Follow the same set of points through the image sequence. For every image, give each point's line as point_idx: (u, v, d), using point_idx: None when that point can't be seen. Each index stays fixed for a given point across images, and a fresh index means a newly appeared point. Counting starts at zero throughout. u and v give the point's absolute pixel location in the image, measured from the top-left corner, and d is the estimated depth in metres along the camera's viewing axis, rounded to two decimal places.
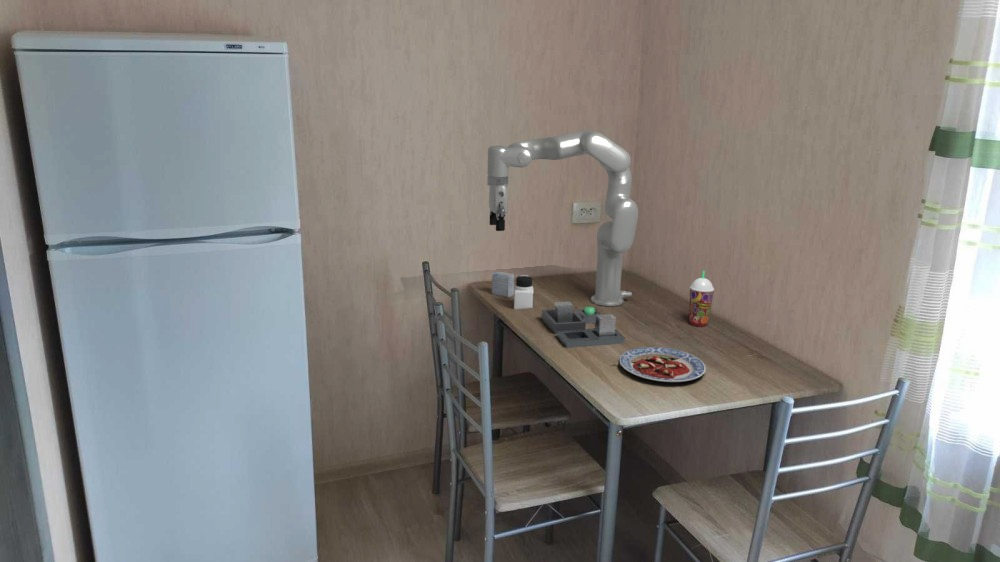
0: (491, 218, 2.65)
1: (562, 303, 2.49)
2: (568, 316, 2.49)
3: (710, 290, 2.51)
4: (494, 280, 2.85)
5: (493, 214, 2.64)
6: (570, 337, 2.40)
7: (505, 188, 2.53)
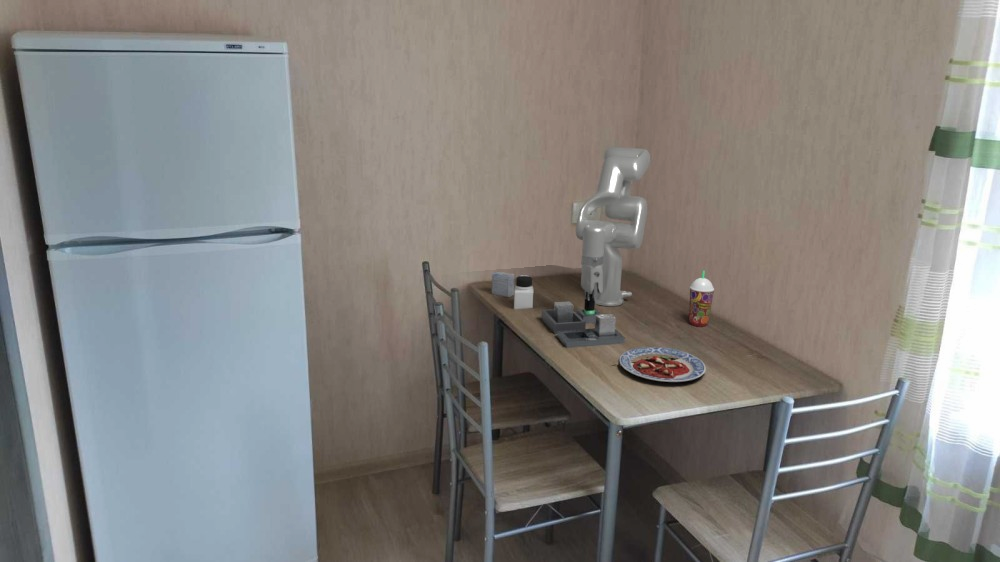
0: None
1: (562, 303, 2.49)
2: (568, 316, 2.49)
3: (710, 290, 2.51)
4: (494, 280, 2.85)
5: None
6: (570, 337, 2.40)
7: (601, 268, 2.48)
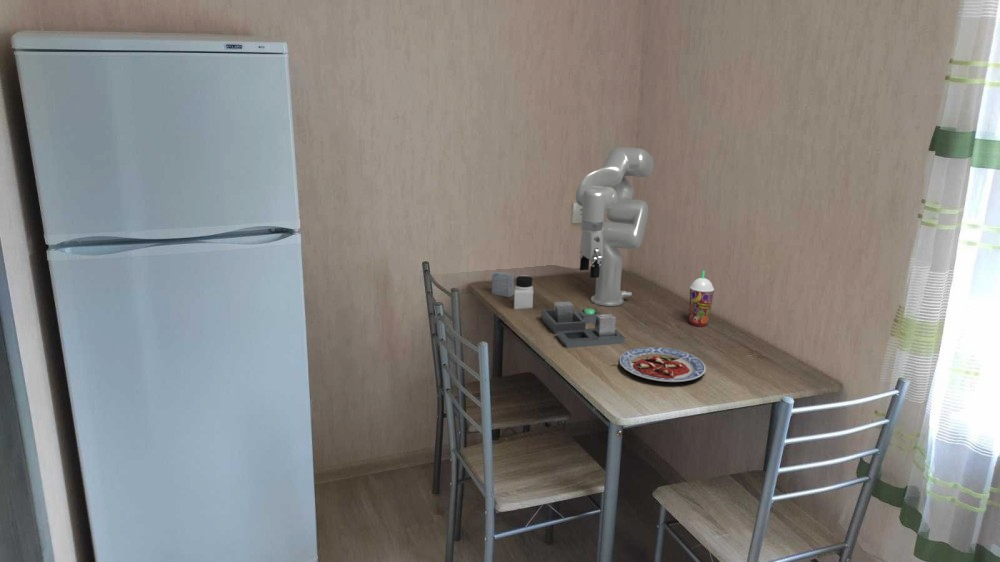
0: (582, 263, 2.55)
1: (562, 303, 2.49)
2: (568, 316, 2.49)
3: (710, 290, 2.51)
4: (494, 280, 2.85)
5: (584, 259, 2.55)
6: (570, 337, 2.40)
7: (601, 234, 2.44)
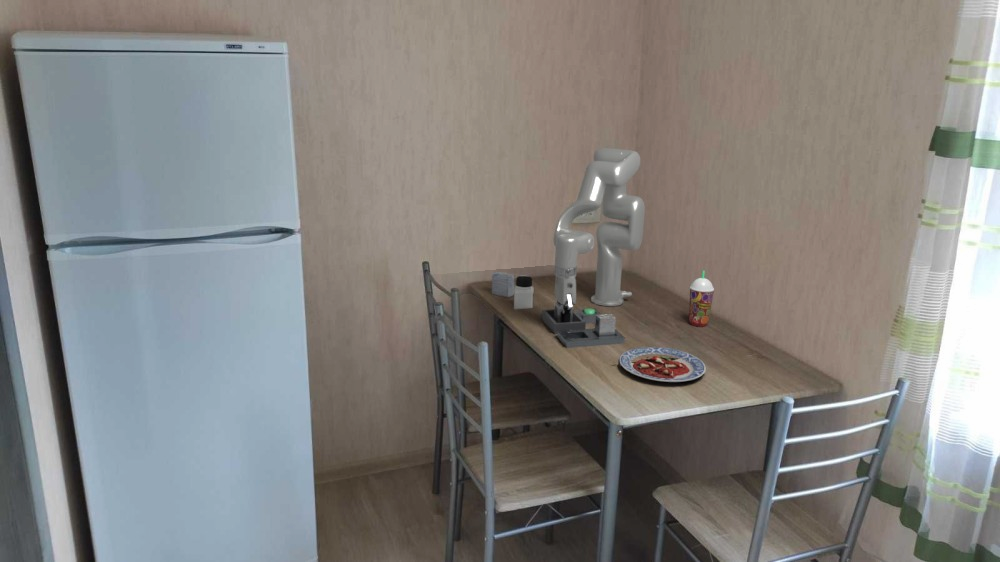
0: None
1: None
2: None
3: (710, 290, 2.51)
4: (494, 280, 2.85)
5: None
6: (570, 337, 2.40)
7: (574, 279, 2.43)
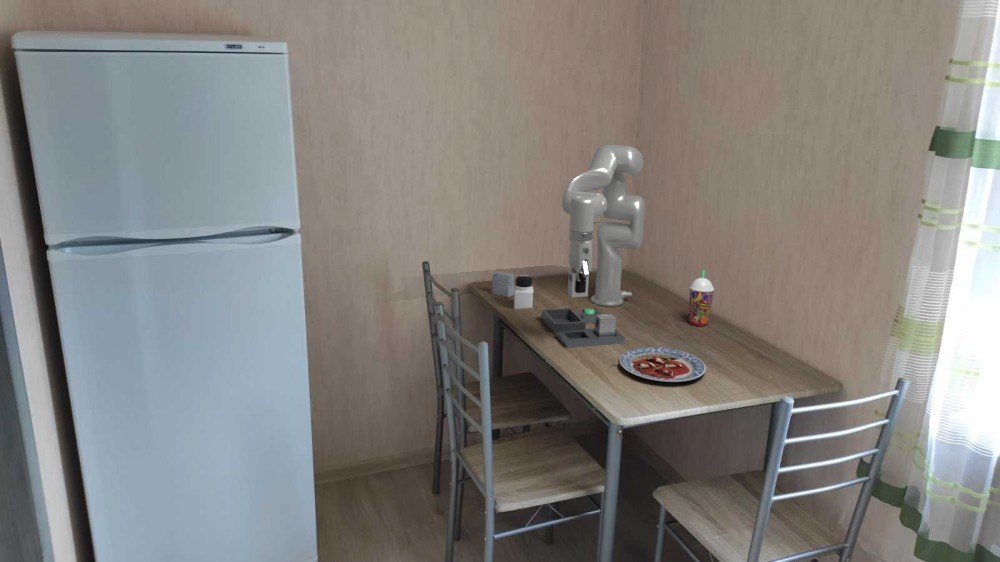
0: None
1: None
2: None
3: (710, 290, 2.51)
4: (494, 280, 2.85)
5: None
6: (570, 337, 2.40)
7: (590, 244, 2.25)
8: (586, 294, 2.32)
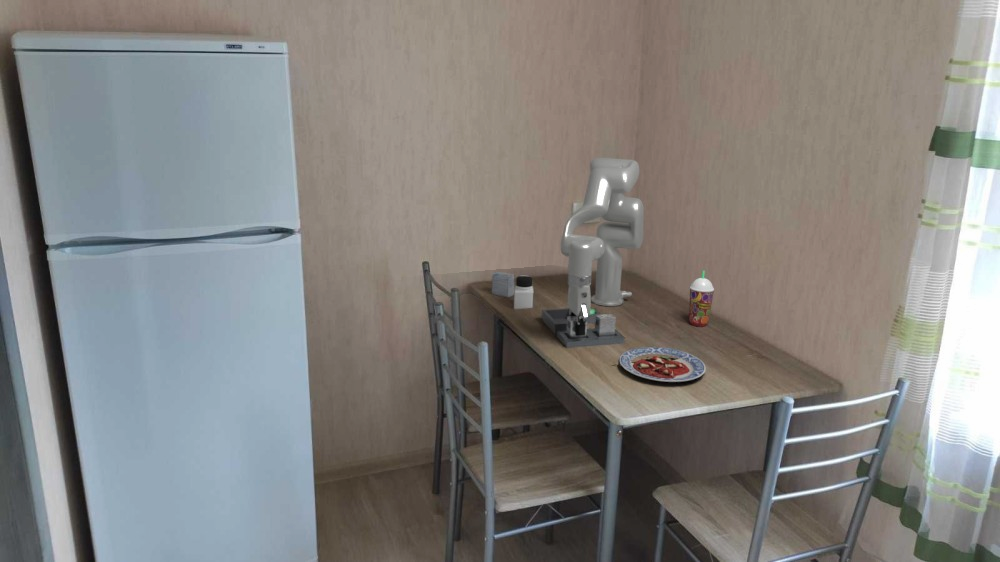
0: None
1: (575, 318, 2.35)
2: None
3: (710, 290, 2.51)
4: (494, 280, 2.85)
5: None
6: None
7: (589, 288, 2.29)
8: None
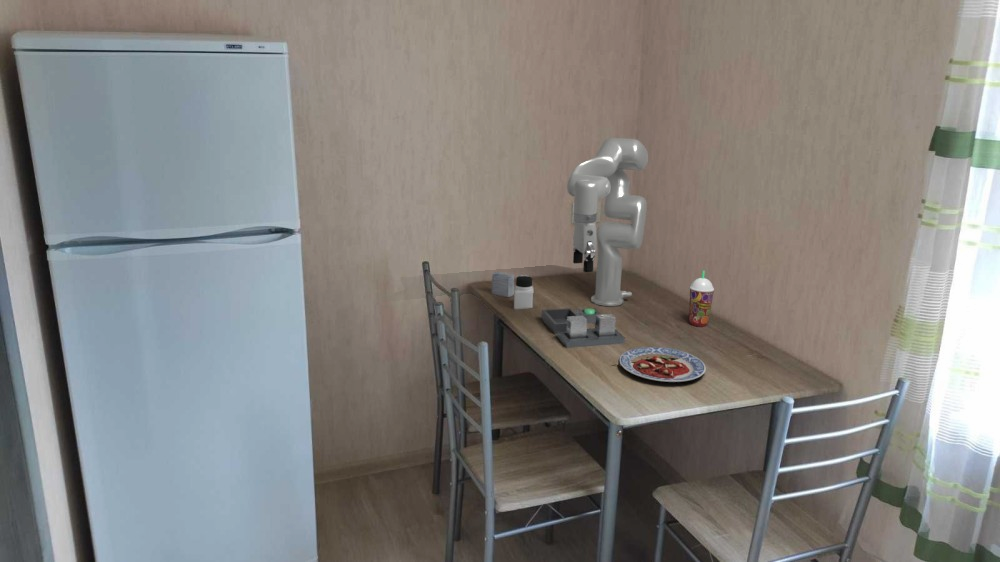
0: (575, 256, 2.45)
1: (575, 318, 2.36)
2: (582, 331, 2.35)
3: (710, 290, 2.51)
4: (494, 280, 2.85)
5: (577, 252, 2.44)
6: None
7: (594, 226, 2.33)
8: None
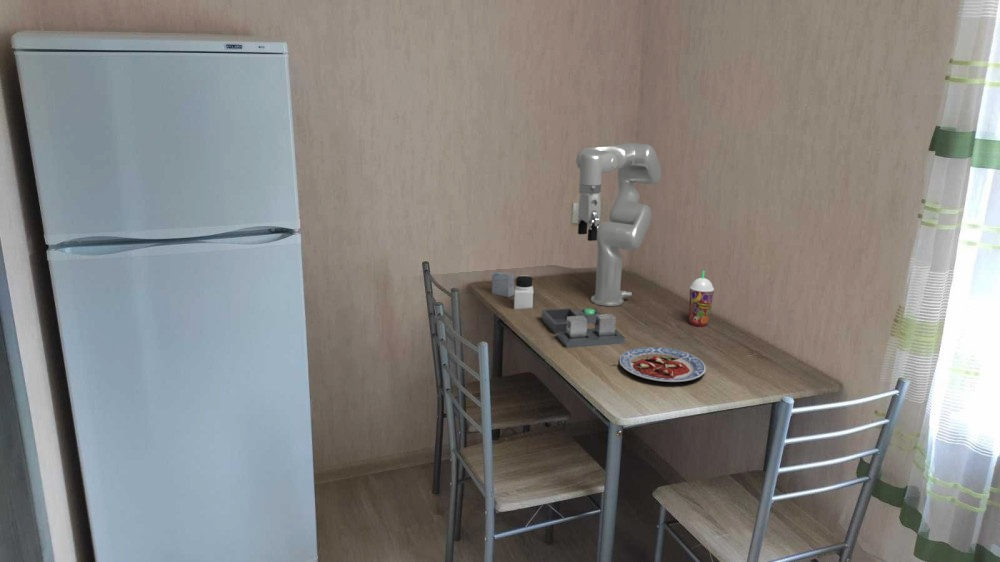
0: (580, 227, 2.57)
1: (575, 318, 2.36)
2: (582, 331, 2.35)
3: (710, 290, 2.52)
4: (494, 280, 2.85)
5: (582, 223, 2.57)
6: None
7: (598, 196, 2.46)
8: None
